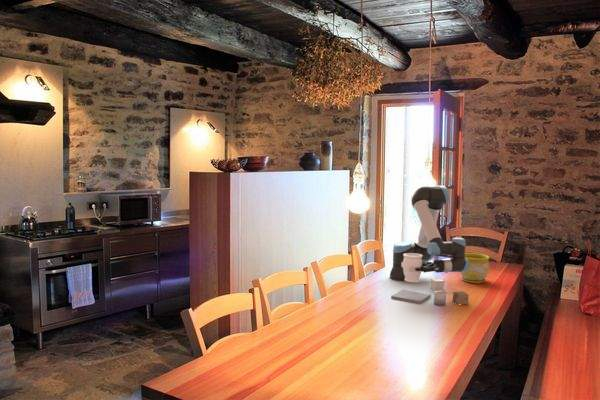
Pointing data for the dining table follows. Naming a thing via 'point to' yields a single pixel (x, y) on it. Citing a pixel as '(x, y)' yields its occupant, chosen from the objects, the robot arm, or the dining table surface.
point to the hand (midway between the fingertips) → (405, 267)
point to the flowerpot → (476, 268)
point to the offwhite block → (437, 284)
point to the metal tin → (440, 298)
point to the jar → (411, 261)
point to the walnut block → (460, 297)
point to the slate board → (411, 296)
